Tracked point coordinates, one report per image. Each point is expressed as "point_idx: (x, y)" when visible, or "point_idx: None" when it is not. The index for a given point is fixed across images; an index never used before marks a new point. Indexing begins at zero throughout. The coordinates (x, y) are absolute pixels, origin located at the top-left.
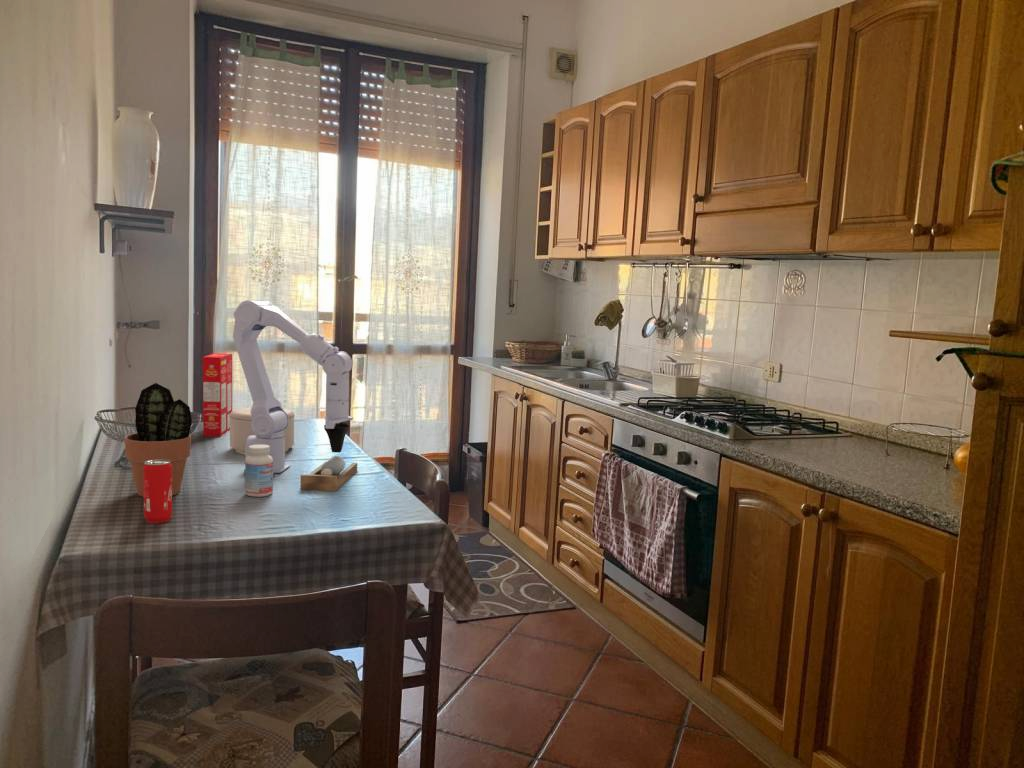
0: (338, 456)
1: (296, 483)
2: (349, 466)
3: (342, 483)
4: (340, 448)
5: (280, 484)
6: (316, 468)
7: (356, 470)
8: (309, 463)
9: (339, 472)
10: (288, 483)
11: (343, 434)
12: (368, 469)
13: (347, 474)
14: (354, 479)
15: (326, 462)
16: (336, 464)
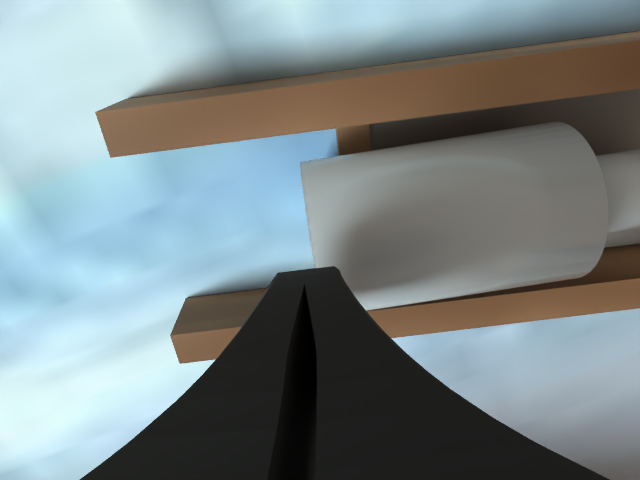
0: (318, 260)
1: (591, 331)
2: (272, 126)
3: (625, 33)
4: (346, 284)
5: (619, 389)
6: (427, 333)
7: (144, 97)
8: (89, 453)
9: (505, 129)
10: (594, 365)
11: (395, 408)
12: (4, 22)
13: (474, 58)
14: (416, 3)
15: (559, 272)
16: (570, 170)
